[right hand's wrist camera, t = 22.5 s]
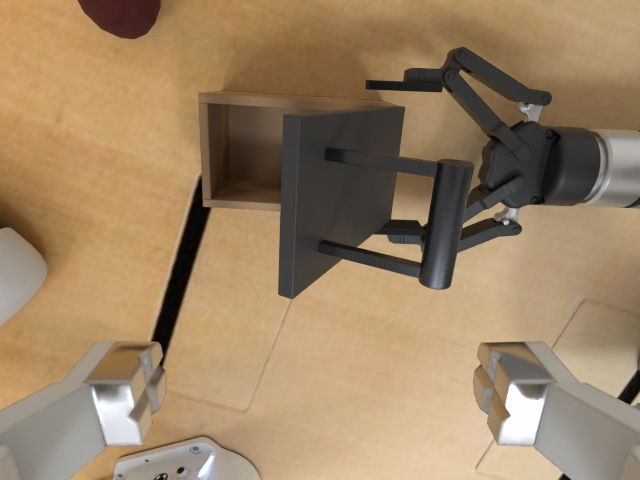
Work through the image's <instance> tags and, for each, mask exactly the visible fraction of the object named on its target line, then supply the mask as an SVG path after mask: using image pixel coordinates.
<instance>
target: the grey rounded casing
mask: <svg viewBox="0 0 640 480" xmlns="http://www.w3.org/2000/svg"><path fill="white" fill-rule="evenodd" d="M47 273H48V268H47V264H46V262H45V260H44V258H43V257H42V256H41V254H40V253H39V252H38V251H37V250H36V249H35V248H34V247H33V246H32V245H31V244H30V243H29V242H27V241H26V240H25V239H24V238H23V237H22V236H20V235H19V234H18V233H17V232H15V231H14V230H13V229H12V228H3V229H0V326H1V325H2V324H4V323H5V322H6V321H7V320H9V319H10V318H11V317H12V316H13V315H15V314H16V313H17V312H18V311H19V310H20V309H21V308H22V307H23V306H24V305H25V304H26V303H27V302H28V301H29V300H30V299H31V298H32V297H33V296H34V295H35V294H36V292H37V291H38V290H39V289H40V287H41V286H42V285H43V283H44V281H45V279H46V277H47Z"/></svg>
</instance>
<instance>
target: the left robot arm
mask: <svg viewBox="0 0 640 480" xmlns="http://www.w3.org/2000/svg"><path fill="white" fill-rule="evenodd" d="M460 70H462V71H464V72H466V73H467V74H469V75H470V76H472V77H474V78H475V79H477V80H478V81H480V82H481V83H483V84H485V85H486V86H488V87H489V88H491V89H492V90H494V91H496V92H497V93H499V94H500V95H502V96H503V97H505V98H507V99H509V100H511V101H514V102H517V105H516V107H517V110H518V111H519V112H521V113H522V114H523V115H524V120H522V121H520V122H518V123H516V124H515V125H513V126H512V127H510V128H509V127H508V126H507V125H506V124H505V123H504V122H502V121H501V120H500V119H499V118H498V117H497V116H496V114H495V113H494V112H493V111H492V110H491V109H490V108H489V107H488V106H487V105H486V103H485V102H484V101H483V100H482V99H481V98H480V97H479V96H478V95H477V93H476V92H475V91H474V90H473V89H472V88H471V87H470V86H469V85H468V84H467V82H466V81H465V80H464V79H463V78H462V77H461V76H460V75H459V72H460ZM443 87H444V88H445V89H446V90H447V91H448V92H449V94H450V95H451V96H452V97H453V98H454V99H455V100H456V101H457V102H458V103H459V104H460V105H461V107H462V108H463V109H464V110H465V111H466V112H467V113H468V114H469V115H470V116H471V117H472V118H473V119H474V121H475V122H476V123H477V124H478V125H479V126H480V127H481V129H482V131H483V132H484V133H485V134H486V135H487V136H488V137H489V138H490V139H491V140H490V141H489V142H488V143H487V145H486V147H483V152H482V159H483V163H482V165H481V167H480V170H479V174H478V178H479V179H480V182H481V184H480V185H478V186H477V187H475V188H474V189H473V190H471V192H470V194H469V195H468V200H467V205H466V210H465V215H464V220H463V223H465V222H466V221H468V220H469V219H471V218H472V217H474V216H475V215H477V214H478V213H480V212H481V211H483V210H485V209H489V208H491V207H493V206H494V205H496V204H497V203H499V202H501V203H503V204H504V205H506V206H505V209H504V210H503V211H502V212H499V213H496V214H495V215H494V218H489V219H485V220H482V221H480V222H477V223H475V224H472V225H470V226H467V227H465V228H462V231H461V236H460V241H459V246H458V251H457V253H458V252H461V251H463V250H466V249H468V248H471V247H473V246H476V245H478V244H481V243H484V242H486V241H489V240H491V239H494V238H496V237H499V236H513V235H518V234H520V232H521V231H522V227H521V225H519V224H518V213H519V208H521V207H523V206H525V205H555V206H573V205H577V206H582V207H620V208H640V131H638V130H619V129H597V128H591V129H588V130H587V129H585V128H574V127H549V126H542V125H540V124H539V123H538V121H539V118H540V115H541V112H542V109H543V106H546V105H548V104H549V103H550V102H551V100H552V96H551V94H550V93H549V92H545V91H539V90H533V89H529V88H527V87H526V86H524V85H523V84H521V83H519V82H518V81H516V80H515V79H513V78H512V77H510V76H509V75H507V74H505V73H504V72H502V71H501V70H499V69H498V68H496V67H495V66H493V65H492V64H490V63H488V62H487V61H485V60H484V59H482V58H481V57H479V56H478V55H476V54H475V53H473V52H471V51H470V50H468V49H467V48H465V47H461V48H456V49H452V50H450V51H449V52H448V55H447V59H446V61H445V64H444V65H443V66H442V67H441V68H440V69H426V68H410V69H407V70H405V71H404V80H403V82H400V81H375V80H366V89H372V90H397V91H422V92H442V88H443ZM426 230H427V224H425V225H424V226H421V225H420V223H419V222H418V220H392V219H391V220H390V221H389V222H388V223H386V224H385V225H384V226H383V227H381V228H380V229H379V230H378V231H376V232H375V233H374V234H379V235H387V237H388V239H389V241H390V242H392V243H398V244H399V243H400V244H419V245H420V246H421V251H422V253H423V248H424V242H425V236H426ZM638 369H639V375H640V357H639V363H638ZM632 407H634V408H636V409H638V410H640V404H639V403H638V404H636V405H635V406H632Z"/></svg>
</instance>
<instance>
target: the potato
mask: <svg viewBox="0 0 640 480" xmlns="http://www.w3.org/2000/svg"><path fill="white" fill-rule="evenodd" d="M78 2H79V4H80V5H81V7H82V9H83V11H84V13H85V14H87V15H88V16H89V17H90V18H91V19H92V20H93V21H94V22H95V23H96V24H97V25H98V26H99V27H100V28H101V29H103V30H105V31H107V32H109V33H111V34H114V35H116V36H118V37H120V38H128V39H136V38H138V37H140V36H143V35H145V34H147V33H148V31H149V30H150V29H151V28H152V26H153V25H154V24H155V22H156V19H157V16H158V13H159V10H160V0H78Z"/></svg>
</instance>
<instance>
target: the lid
mask: <svg viewBox="0 0 640 480" xmlns="http://www.w3.org/2000/svg"><path fill="white" fill-rule="evenodd" d="M404 112H405V107H401V106H387V107H374V108H361V109H348V110H334V111H321V112H308V113H295V114H284V115H283V138H282V175H281V212H280V249H279V285H278V295H280V296H284V297H287V298H290V299H294V298H295V297H296V296H297V295H299V294H300V293H301V292H302V291H304V290H305V289H306V288H307V287H308V286H310V285H311V284H312V283H313V282H315V281H316V280H317V279H318V278H320V277H321V276H322V275H323V274H325V273H326V272H327V271H328V270H329V269H331V268H332V267H333V266H334V265H336V264H337V263H338V262H339V261H341V260H342V259H346V260H350V261H353V262H357V263H361V264H365V265H369V266H373V267H377V268H381V269H385V270H388V271H392V272H396V273H400V274H404V275H408V276H412V277H416V278H419V282H420V283H421V284H422V285H424V286H426V287H428V288H432V289H438V290H443V289H447V288H449V287H450V286H451V282H452V277H453V272H454V267H455V261H456V256H457V251H458V246H459V241H460V236H461V231H462V225H463V220H464V215H465V210H466V205H467V200H468V195H469V190H470V184H471V179H472V174H473V169H474V164H472V163H470V162H466V161H461V160H453V159H442V160H438V162H434V161H427V160H420V159H413V158H405V157H399V151H400V143H401V135H402V127H403V119H404ZM397 172H403V173H409V174H416V175H422V176H429V177H435V180H434V186H433V193H432V199H431V205H430V211H429V217H428V223H427V230H426V236H425V242H424V248H423V254H422V260H421V263H419V262H415V261H411V260H407V259H402V258H398V257H394V256H390V255H386V254H382V253H378V252H373V251H369V250H365V249H361V248H357V247H358V246H359V245H360V244H362V243H363V242H364V241H365V240H367V239H368V238H369V237H370V236H372V235H373V234H374V233H375V232H376V231H378V230H379V229H380V228H381V227H383V226H384V225H385V224H386V223H388V222H389V221H390V220H391V213H392V205H393V197H394V190H395V182H396V174H397Z"/></svg>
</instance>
